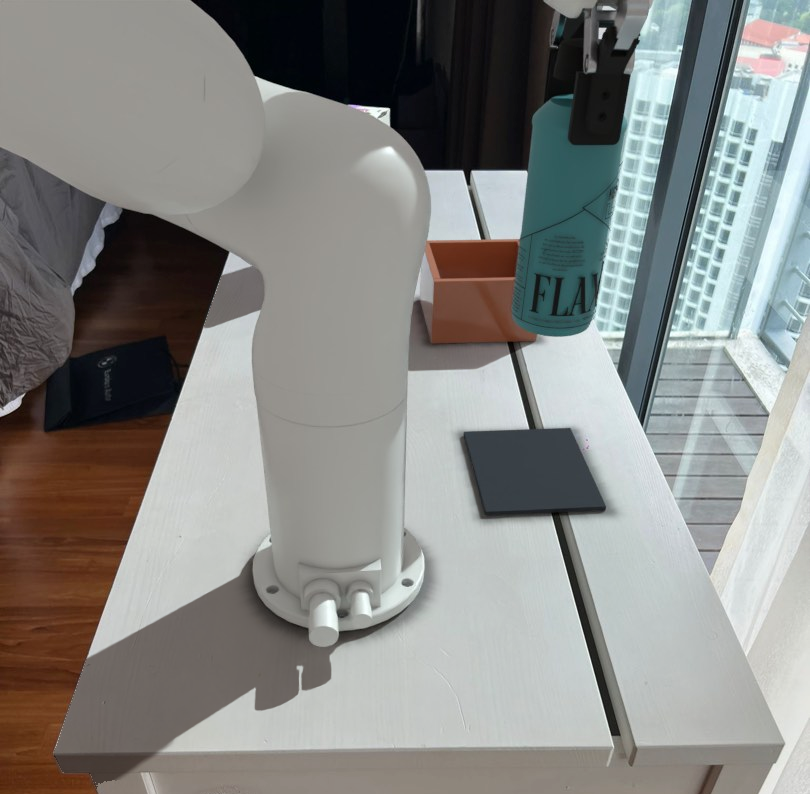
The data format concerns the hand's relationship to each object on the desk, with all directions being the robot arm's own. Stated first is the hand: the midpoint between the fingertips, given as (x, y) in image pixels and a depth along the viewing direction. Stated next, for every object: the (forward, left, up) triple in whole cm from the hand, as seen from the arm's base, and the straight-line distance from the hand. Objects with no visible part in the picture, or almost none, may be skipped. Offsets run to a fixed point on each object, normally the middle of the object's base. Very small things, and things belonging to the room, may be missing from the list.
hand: (578, 125), depth 55 cm
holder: (+30, 0, -28) cm, 41 cm away
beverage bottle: (0, 0, -15) cm, 15 cm away
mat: (0, 0, -28) cm, 28 cm away
